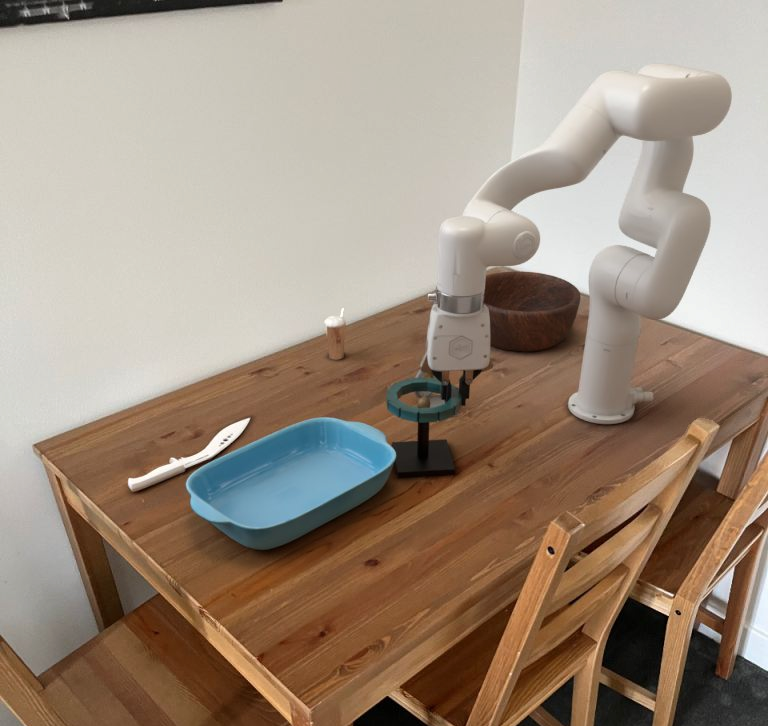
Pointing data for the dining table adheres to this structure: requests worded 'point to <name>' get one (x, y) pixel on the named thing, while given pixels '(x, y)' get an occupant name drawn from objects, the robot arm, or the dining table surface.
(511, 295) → the wooden bowl
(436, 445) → the stand
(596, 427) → the dining table surface
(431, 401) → the pocket watch
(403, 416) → the ring
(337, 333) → the milkshake
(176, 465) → the knife
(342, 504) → the casserole dish
